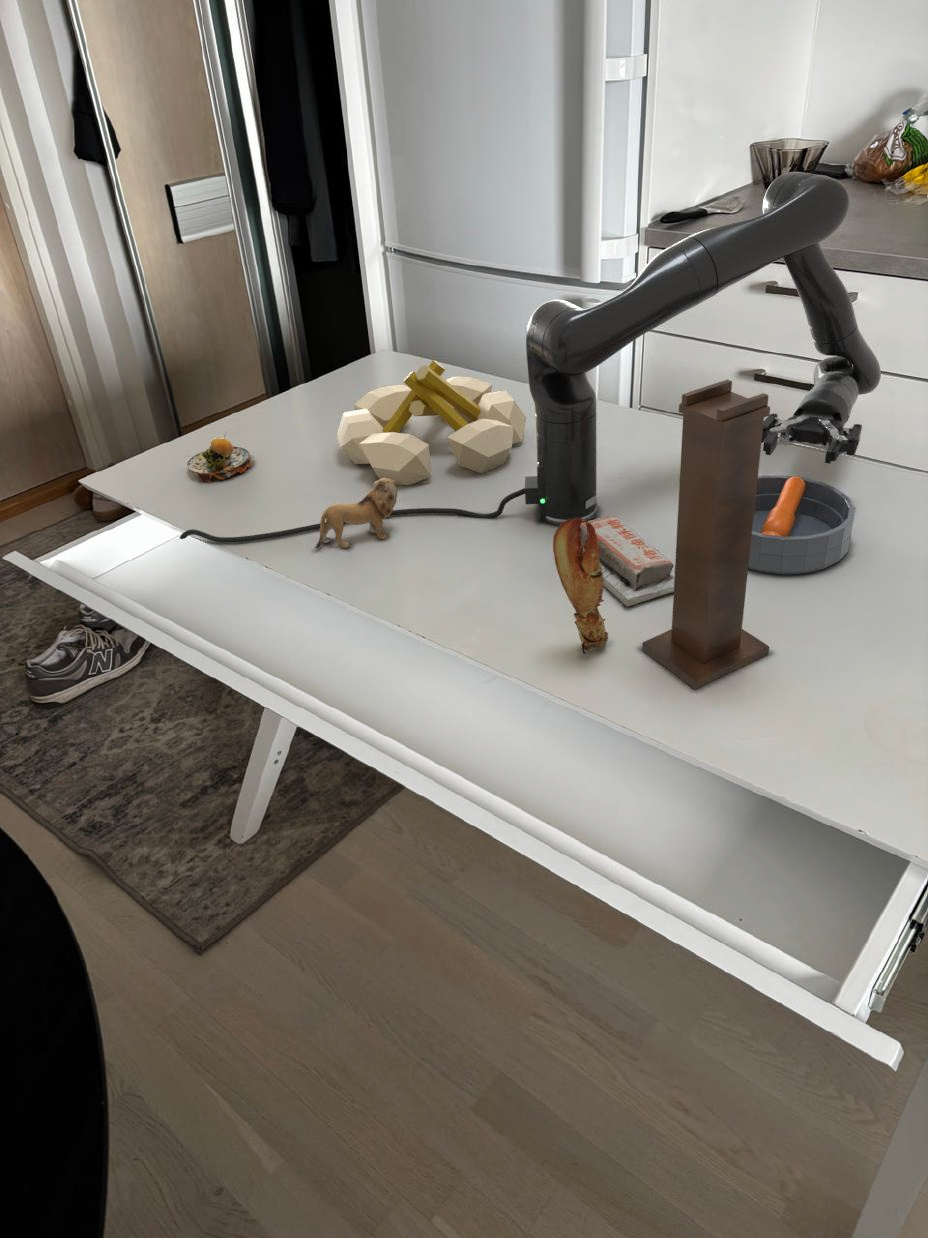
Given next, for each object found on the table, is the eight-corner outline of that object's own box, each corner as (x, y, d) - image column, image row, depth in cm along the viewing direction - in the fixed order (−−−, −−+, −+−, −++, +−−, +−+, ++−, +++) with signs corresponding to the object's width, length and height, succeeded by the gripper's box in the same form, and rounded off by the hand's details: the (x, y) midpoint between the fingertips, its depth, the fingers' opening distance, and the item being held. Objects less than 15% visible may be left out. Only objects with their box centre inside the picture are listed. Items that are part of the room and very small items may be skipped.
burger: (217, 450, 185) (208, 414, 181) (264, 459, 180) (256, 422, 176) (175, 477, 177) (165, 439, 172) (224, 486, 172) (214, 448, 167)
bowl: (719, 578, 134) (723, 541, 130) (702, 511, 150) (704, 477, 146) (864, 574, 131) (871, 537, 128) (830, 507, 148) (836, 472, 144)
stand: (695, 689, 114) (714, 423, 95) (641, 649, 121) (650, 395, 102) (768, 654, 119) (801, 393, 99) (713, 617, 126) (733, 368, 107)
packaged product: (564, 523, 140) (622, 506, 143) (564, 551, 143) (622, 534, 146) (627, 579, 126) (691, 560, 129) (626, 609, 129) (689, 589, 132)
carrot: (777, 570, 134) (777, 550, 132) (750, 565, 136) (750, 546, 134) (810, 491, 144) (810, 472, 141) (784, 488, 146) (785, 468, 143)
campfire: (355, 501, 162) (339, 407, 153) (331, 428, 190) (317, 344, 180) (549, 465, 168) (546, 372, 158) (499, 399, 195) (493, 316, 186)
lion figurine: (395, 519, 156) (388, 469, 151) (407, 532, 152) (401, 482, 147) (310, 544, 151) (300, 494, 146) (321, 559, 147) (311, 507, 142)
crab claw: (552, 648, 123) (547, 512, 112) (576, 630, 126) (573, 495, 115) (596, 667, 119) (595, 528, 108) (619, 648, 122) (621, 510, 111)
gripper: (780, 384, 151) (751, 422, 139) (875, 394, 144) (852, 436, 133) (775, 428, 155) (746, 469, 144) (867, 440, 148) (844, 484, 137)
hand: (797, 453), depth 138 cm, fingers open, 8 cm apart
